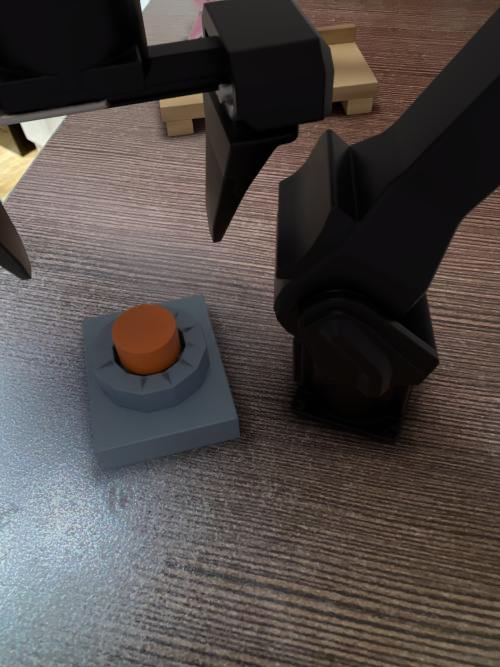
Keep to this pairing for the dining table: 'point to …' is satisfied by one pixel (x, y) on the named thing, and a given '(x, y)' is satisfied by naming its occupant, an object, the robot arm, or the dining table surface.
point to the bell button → (146, 339)
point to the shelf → (349, 85)
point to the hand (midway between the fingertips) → (123, 254)
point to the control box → (158, 392)
